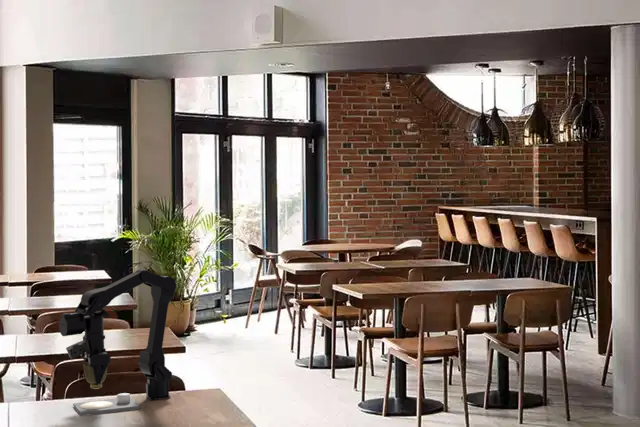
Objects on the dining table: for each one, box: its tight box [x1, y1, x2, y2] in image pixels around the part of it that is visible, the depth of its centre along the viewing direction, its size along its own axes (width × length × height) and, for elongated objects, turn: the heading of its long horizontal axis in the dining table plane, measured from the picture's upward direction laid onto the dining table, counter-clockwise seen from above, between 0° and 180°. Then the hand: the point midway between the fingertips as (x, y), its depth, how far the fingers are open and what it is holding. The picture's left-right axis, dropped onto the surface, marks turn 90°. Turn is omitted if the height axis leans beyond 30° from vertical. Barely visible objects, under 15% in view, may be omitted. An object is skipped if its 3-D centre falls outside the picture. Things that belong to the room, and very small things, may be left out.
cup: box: [82, 362, 108, 390], centre depth 298 cm, size 8×7×8 cm
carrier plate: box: [72, 392, 141, 417], centre depth 300 cm, size 18×14×4 cm
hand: (96, 382), depth 298 cm, fingers closed on cup, 6 cm apart
